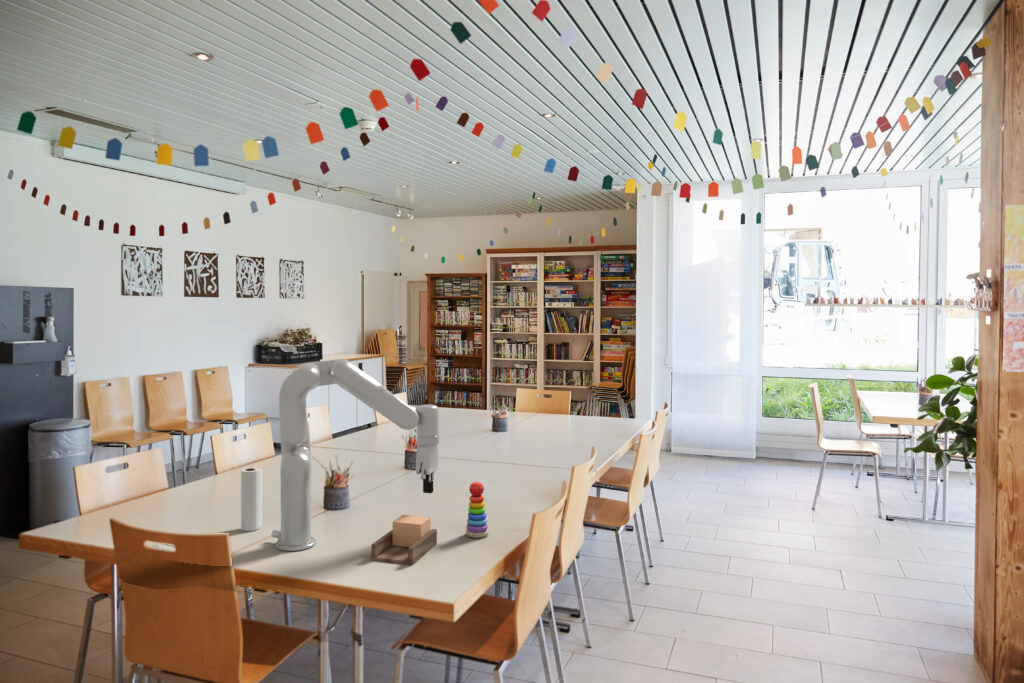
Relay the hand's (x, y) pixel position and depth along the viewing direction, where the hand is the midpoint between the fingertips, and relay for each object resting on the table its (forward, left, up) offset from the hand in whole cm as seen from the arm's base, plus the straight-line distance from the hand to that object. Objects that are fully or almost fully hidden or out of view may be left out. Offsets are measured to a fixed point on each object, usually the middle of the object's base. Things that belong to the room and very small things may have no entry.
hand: (428, 492), depth 238 cm
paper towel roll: (-61, -13, -15) cm, 65 cm away
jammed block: (0, -13, -14) cm, 19 cm away
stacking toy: (+17, +5, -15) cm, 23 cm away
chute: (0, -18, -15) cm, 24 cm away
